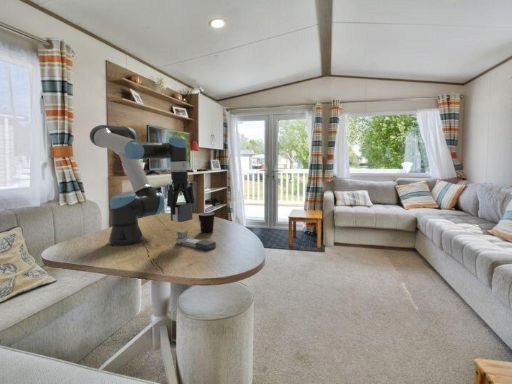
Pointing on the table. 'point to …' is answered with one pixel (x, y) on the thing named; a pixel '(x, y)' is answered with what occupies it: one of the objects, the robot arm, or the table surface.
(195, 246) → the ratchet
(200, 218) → the coffee mug
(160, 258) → the table surface
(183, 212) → the dark grey cube
